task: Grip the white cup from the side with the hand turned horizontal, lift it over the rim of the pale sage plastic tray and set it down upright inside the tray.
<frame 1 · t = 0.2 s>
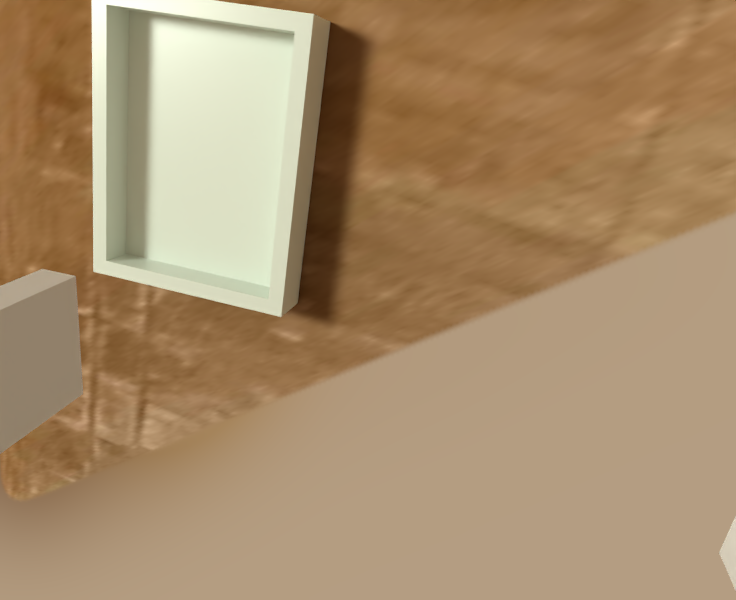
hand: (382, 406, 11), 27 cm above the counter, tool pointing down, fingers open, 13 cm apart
tray: (214, 154, 40), on the counter
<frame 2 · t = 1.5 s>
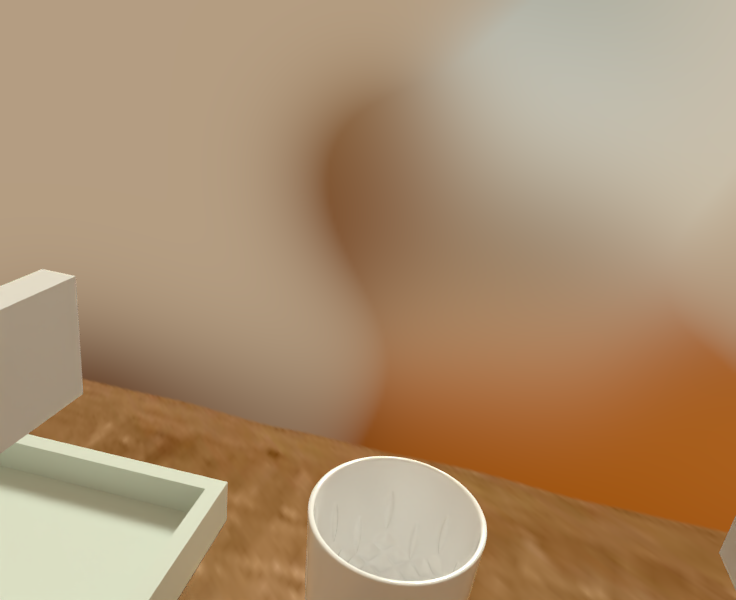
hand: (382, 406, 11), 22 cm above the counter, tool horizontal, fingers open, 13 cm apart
tray: (21, 568, 33), on the counter
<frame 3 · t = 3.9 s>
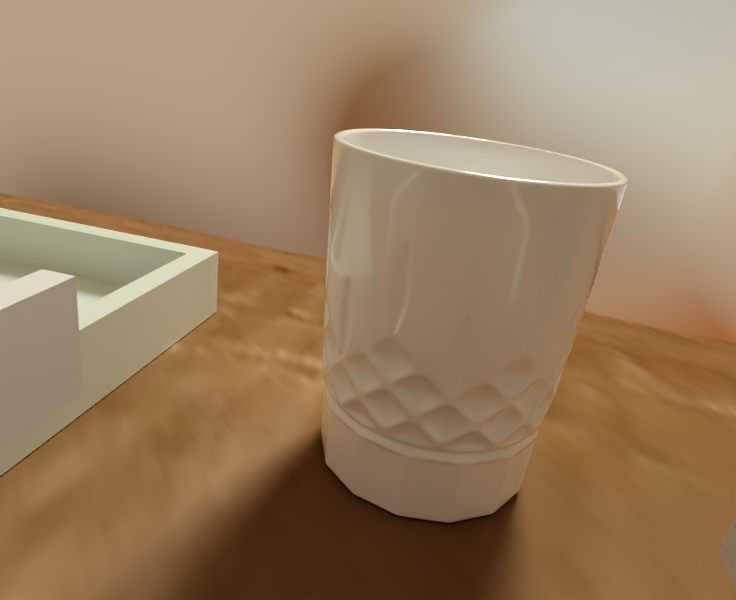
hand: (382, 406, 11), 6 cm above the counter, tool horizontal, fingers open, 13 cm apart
white cup: (419, 457, 20), on the counter
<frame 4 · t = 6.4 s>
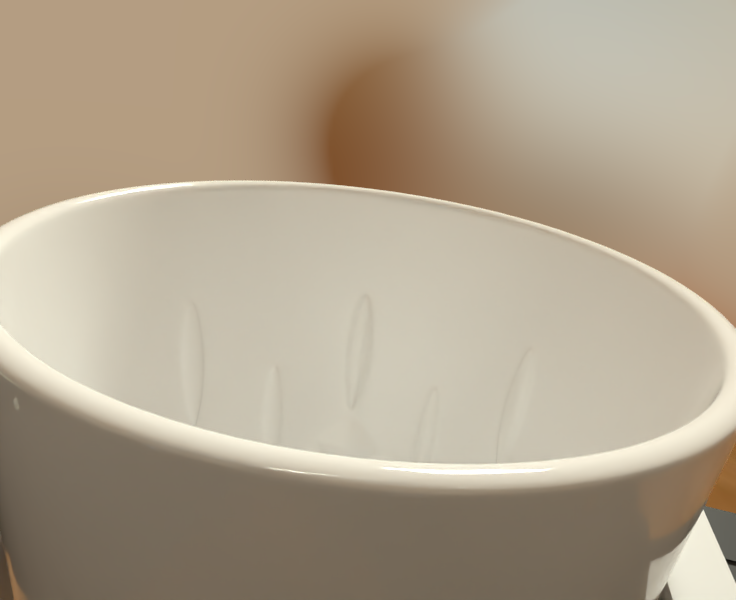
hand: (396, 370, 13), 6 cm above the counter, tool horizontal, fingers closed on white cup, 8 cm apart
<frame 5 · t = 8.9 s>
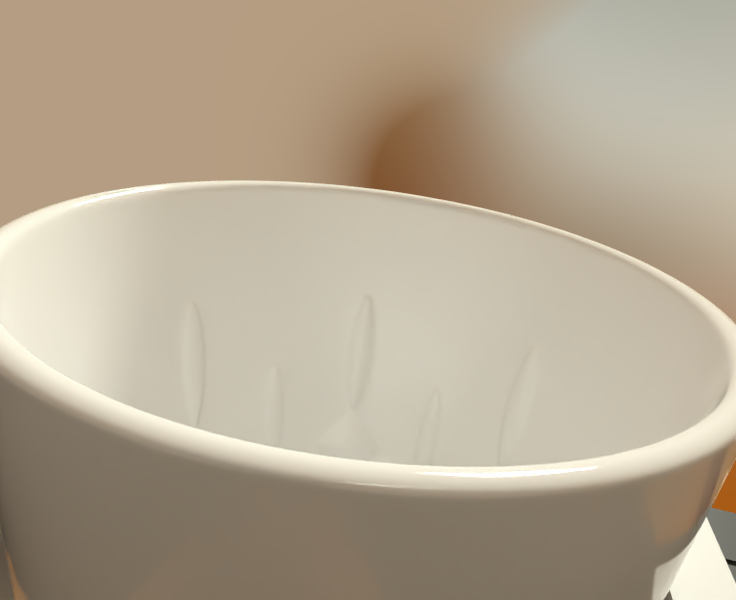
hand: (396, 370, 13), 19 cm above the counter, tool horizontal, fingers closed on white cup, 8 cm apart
when the fingers open (9 cm above the counter, at t = 11.5 s): white cup drops 2 cm, resting on tray.
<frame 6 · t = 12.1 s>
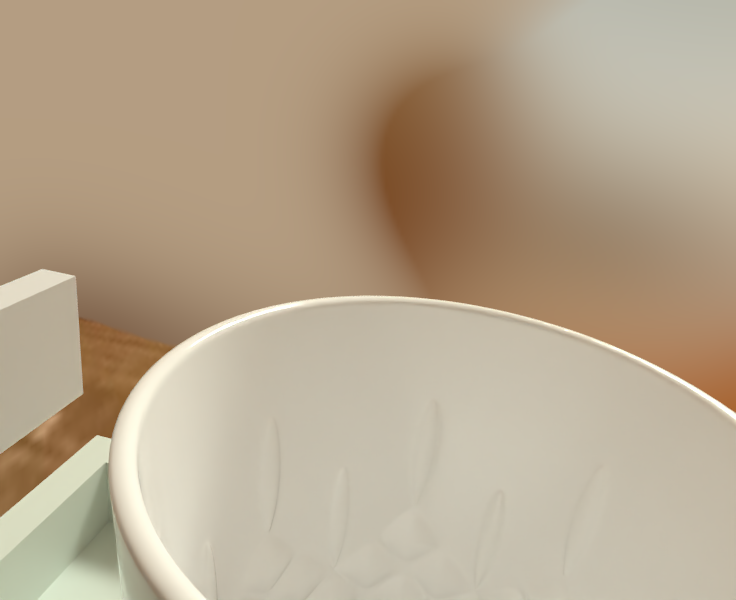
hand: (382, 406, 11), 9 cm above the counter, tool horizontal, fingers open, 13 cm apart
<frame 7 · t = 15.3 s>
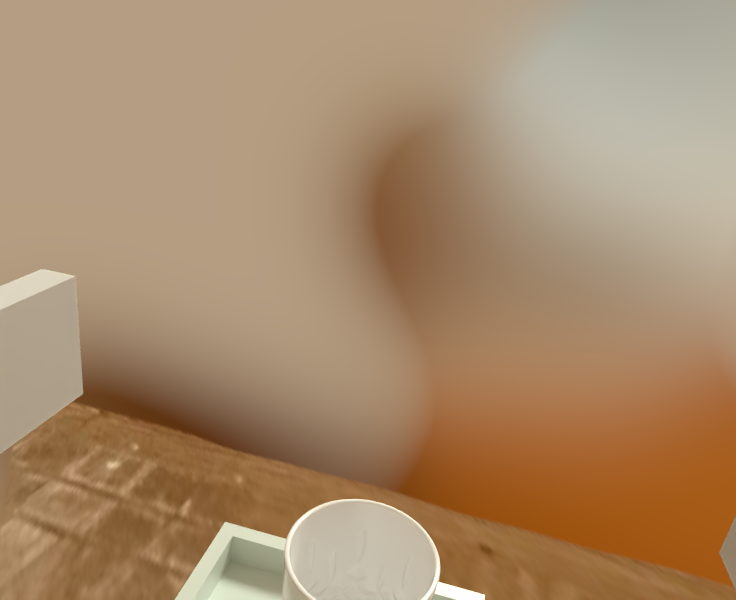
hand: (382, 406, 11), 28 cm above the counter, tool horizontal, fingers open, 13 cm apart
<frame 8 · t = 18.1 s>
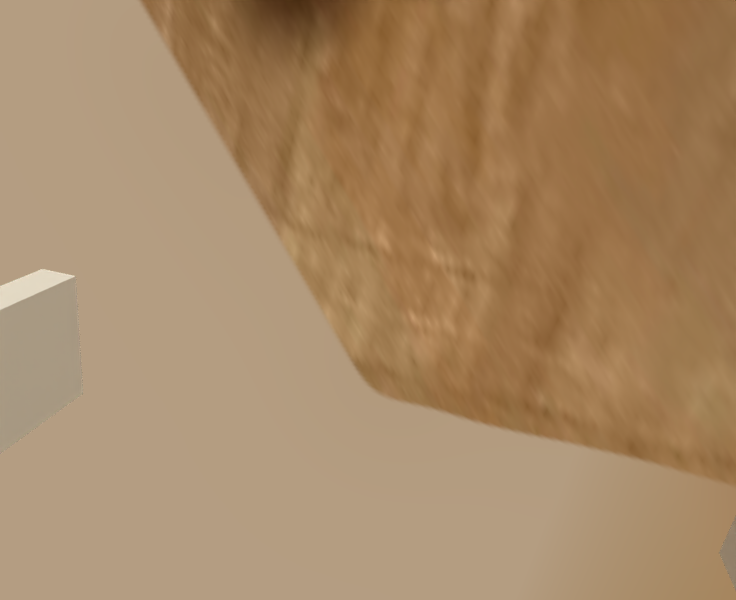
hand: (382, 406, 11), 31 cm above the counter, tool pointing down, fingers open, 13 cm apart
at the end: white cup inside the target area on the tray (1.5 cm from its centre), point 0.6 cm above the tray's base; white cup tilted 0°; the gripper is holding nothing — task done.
